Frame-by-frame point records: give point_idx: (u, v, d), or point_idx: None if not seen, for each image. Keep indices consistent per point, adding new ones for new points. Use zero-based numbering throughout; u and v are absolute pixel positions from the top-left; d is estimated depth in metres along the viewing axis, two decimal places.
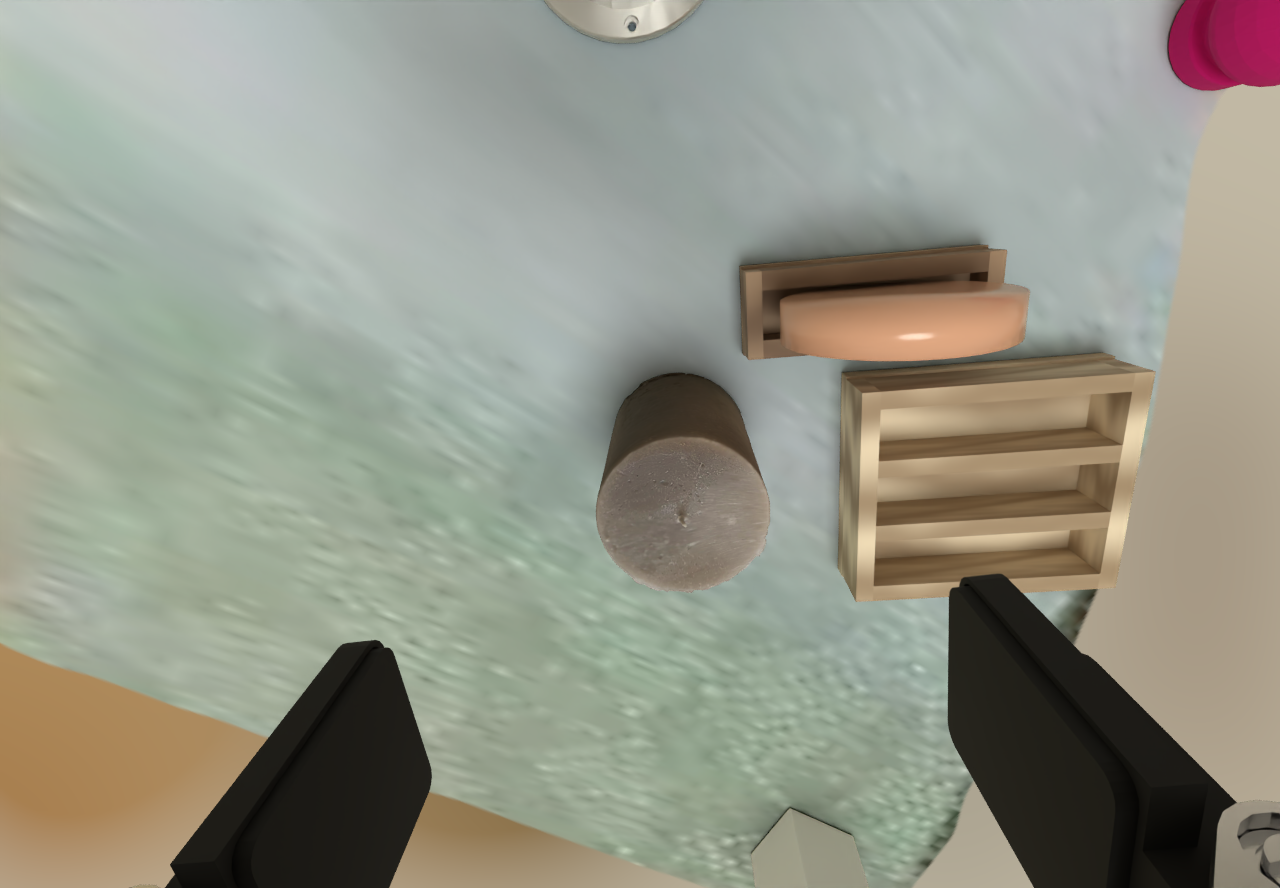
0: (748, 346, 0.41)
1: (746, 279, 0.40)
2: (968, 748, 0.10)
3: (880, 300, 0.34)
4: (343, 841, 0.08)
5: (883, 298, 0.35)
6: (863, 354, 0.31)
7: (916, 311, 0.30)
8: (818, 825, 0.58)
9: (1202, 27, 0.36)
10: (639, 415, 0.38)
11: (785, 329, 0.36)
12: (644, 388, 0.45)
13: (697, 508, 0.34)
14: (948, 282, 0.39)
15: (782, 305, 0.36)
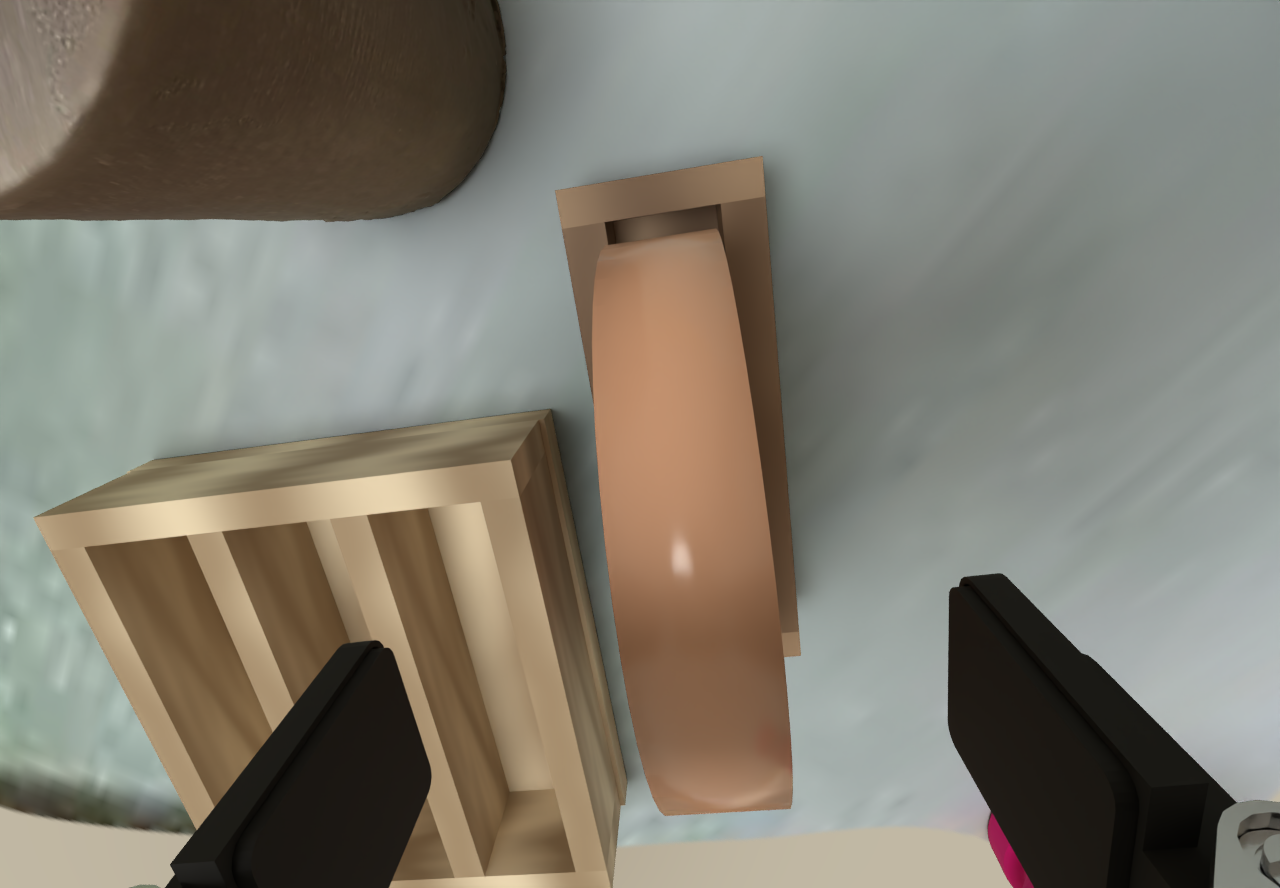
0: (587, 187, 0.17)
1: (745, 160, 0.17)
2: (968, 748, 0.10)
3: None
4: (343, 841, 0.08)
5: None
6: (618, 473, 0.09)
7: (776, 615, 0.09)
8: None
9: None
10: None
11: (652, 242, 0.13)
12: None
13: None
14: None
15: (714, 230, 0.13)
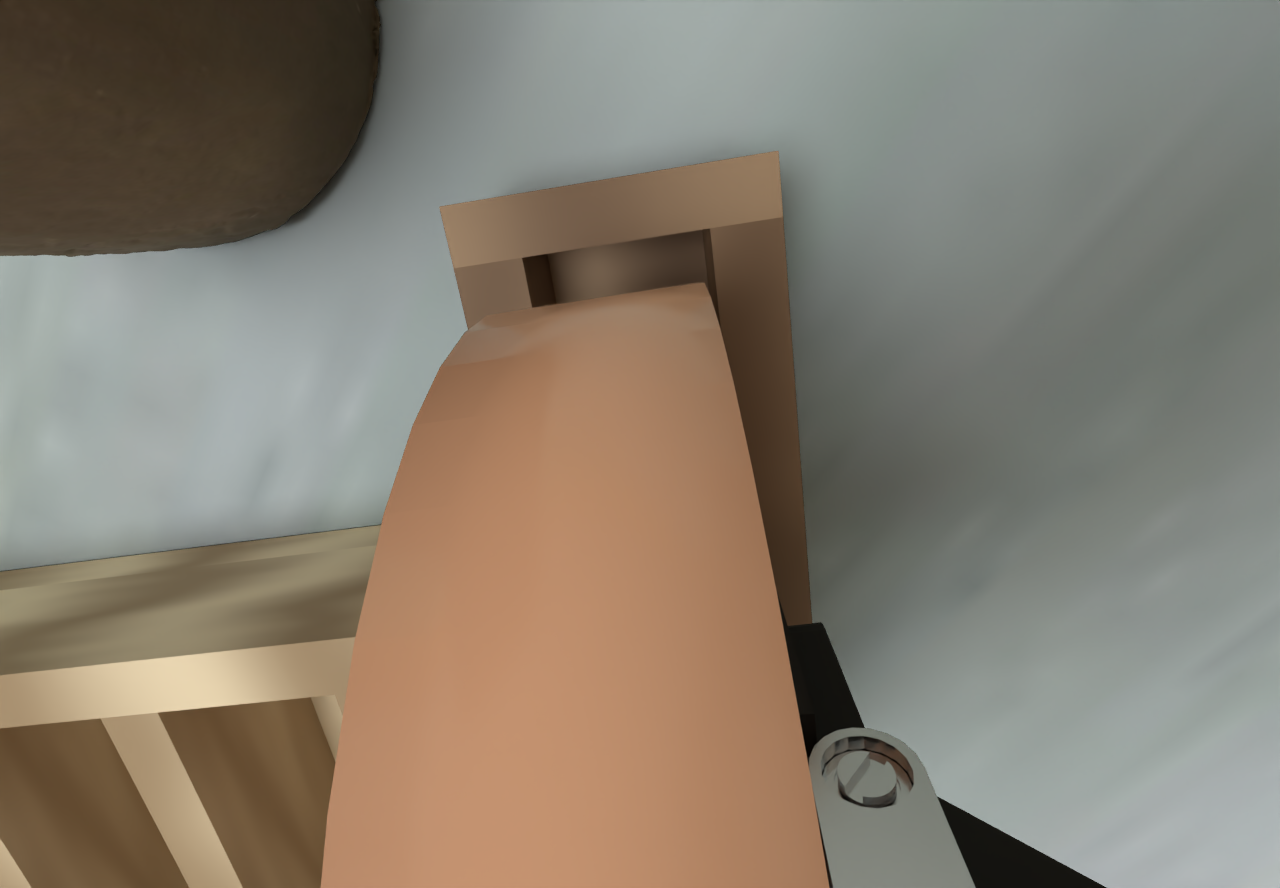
0: (492, 201, 0.10)
1: (750, 158, 0.10)
2: None
3: None
4: None
5: None
6: None
7: None
8: None
9: None
10: None
11: (571, 317, 0.06)
12: None
13: None
14: None
15: (700, 287, 0.07)
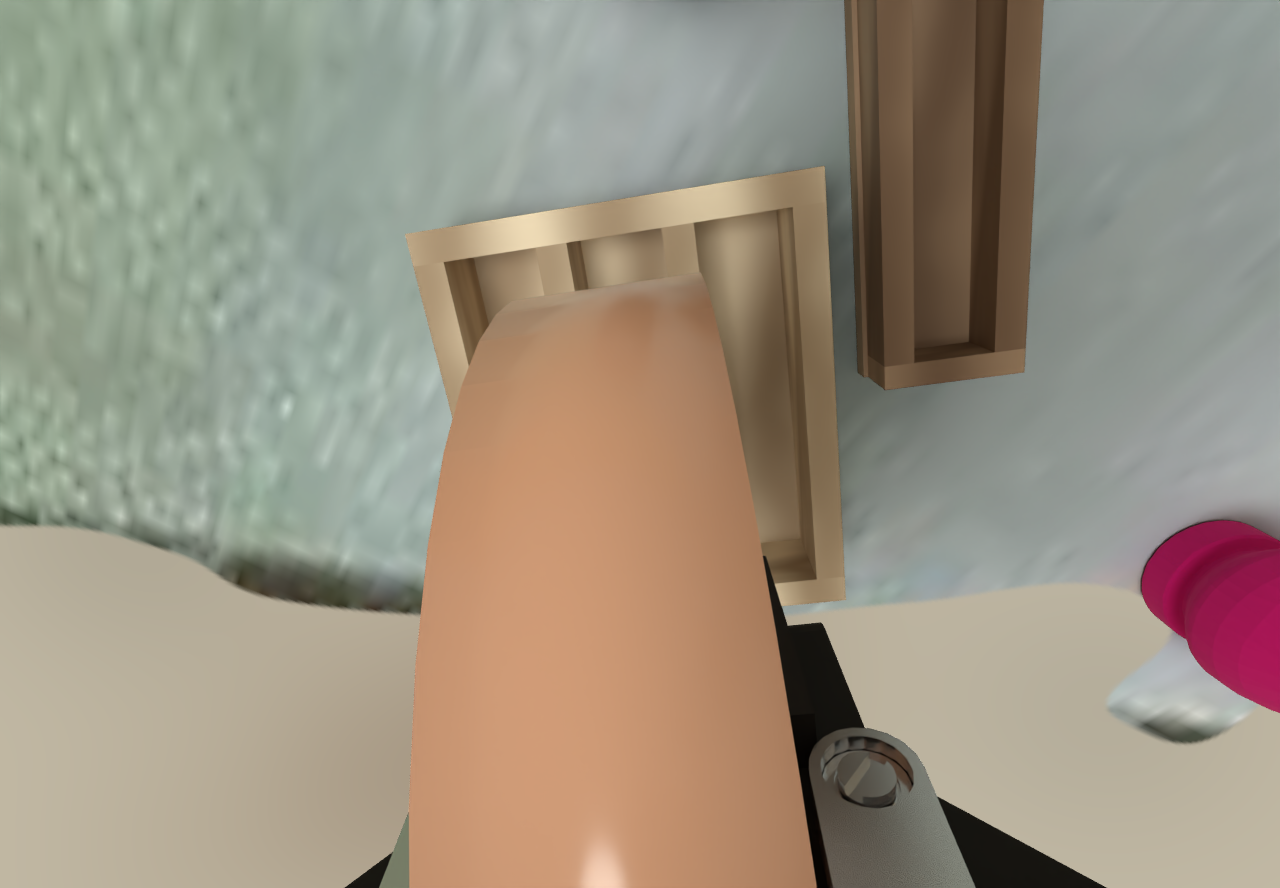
0: None
1: None
2: None
3: None
4: None
5: None
6: None
7: None
8: None
9: (1246, 547, 0.29)
10: None
11: (587, 301, 0.07)
12: None
13: None
14: None
15: (697, 276, 0.08)
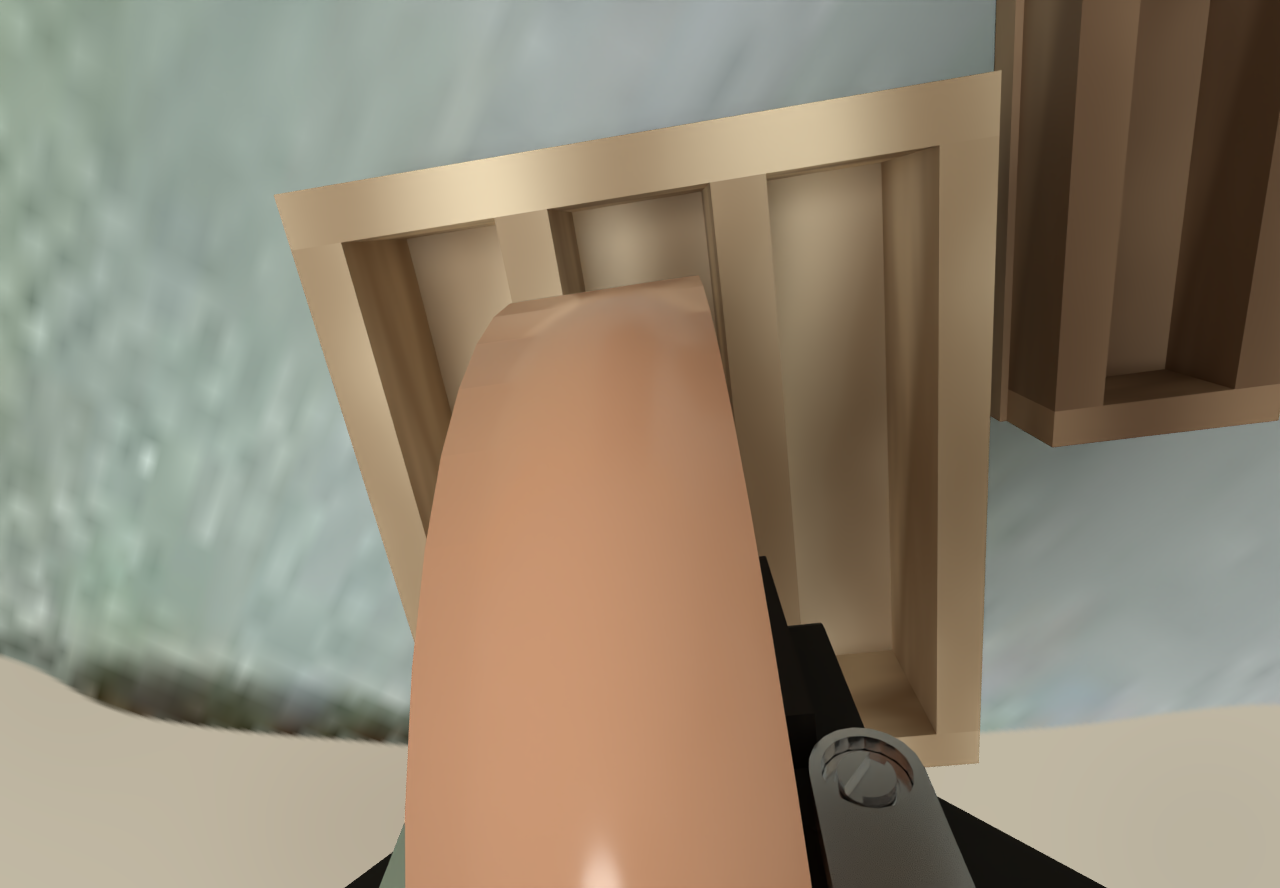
0: None
1: None
2: None
3: None
4: None
5: None
6: None
7: None
8: None
9: None
10: None
11: (585, 303, 0.07)
12: None
13: None
14: None
15: (695, 278, 0.08)
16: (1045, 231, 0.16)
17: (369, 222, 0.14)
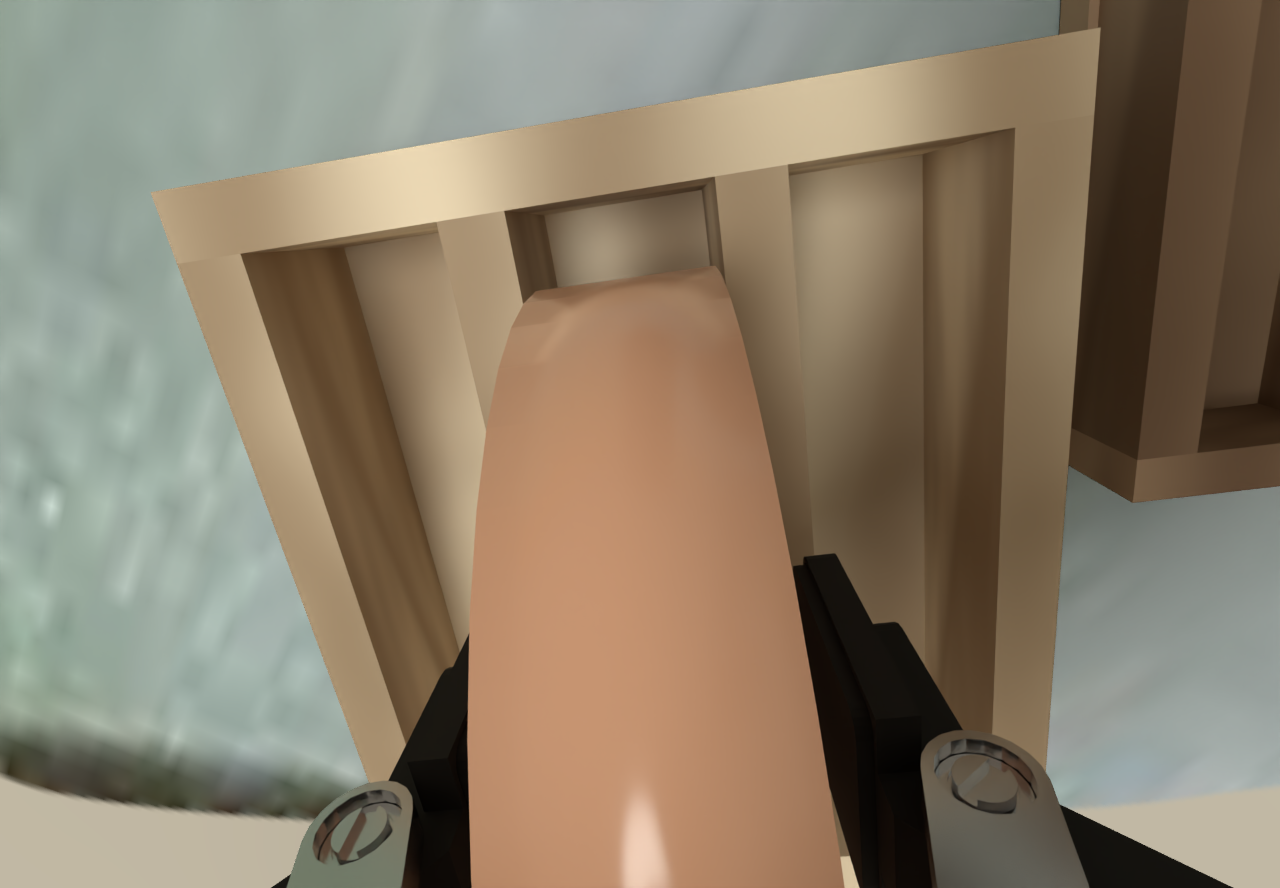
0: None
1: None
2: None
3: None
4: None
5: None
6: (515, 843, 0.04)
7: None
8: None
9: None
10: None
11: (610, 291, 0.08)
12: None
13: None
14: None
15: (712, 268, 0.08)
16: (1128, 239, 0.13)
17: (275, 227, 0.11)
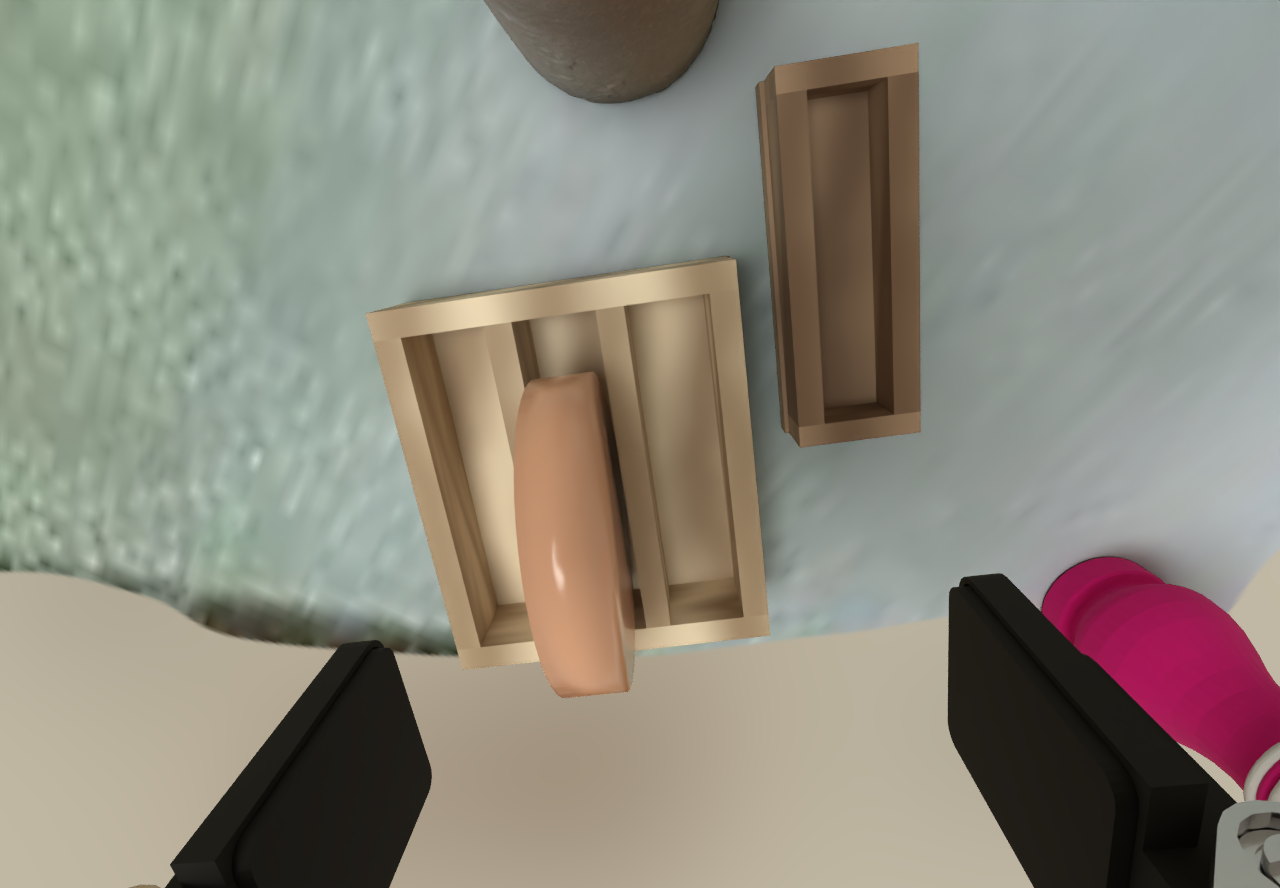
0: (796, 64, 0.25)
1: (906, 46, 0.25)
2: (968, 748, 0.10)
3: (606, 521, 0.24)
4: (343, 841, 0.08)
5: (608, 519, 0.25)
6: (526, 542, 0.20)
7: (600, 605, 0.20)
8: None
9: (1125, 581, 0.33)
10: None
11: (549, 396, 0.23)
12: None
13: None
14: (629, 558, 0.31)
15: (585, 384, 0.23)
16: (788, 328, 0.29)
17: (416, 327, 0.27)
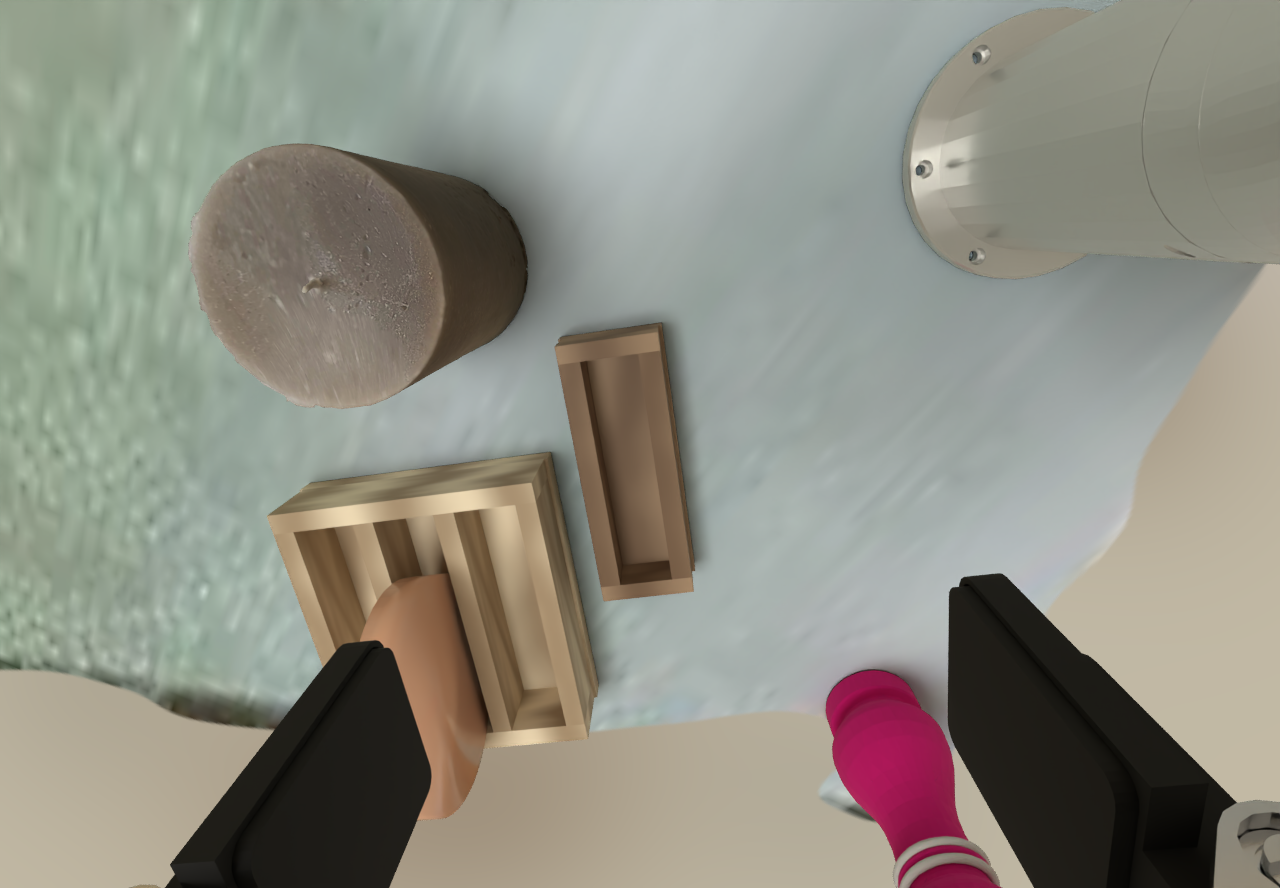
0: (570, 345, 0.34)
1: (649, 333, 0.33)
2: (968, 748, 0.10)
3: (434, 703, 0.34)
4: (343, 841, 0.08)
5: (440, 696, 0.34)
6: None
7: None
8: None
9: (877, 694, 0.42)
10: (463, 208, 0.28)
11: (381, 633, 0.32)
12: (500, 214, 0.34)
13: (337, 306, 0.23)
14: None
15: (409, 620, 0.32)
16: None
17: (304, 525, 0.36)
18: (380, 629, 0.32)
